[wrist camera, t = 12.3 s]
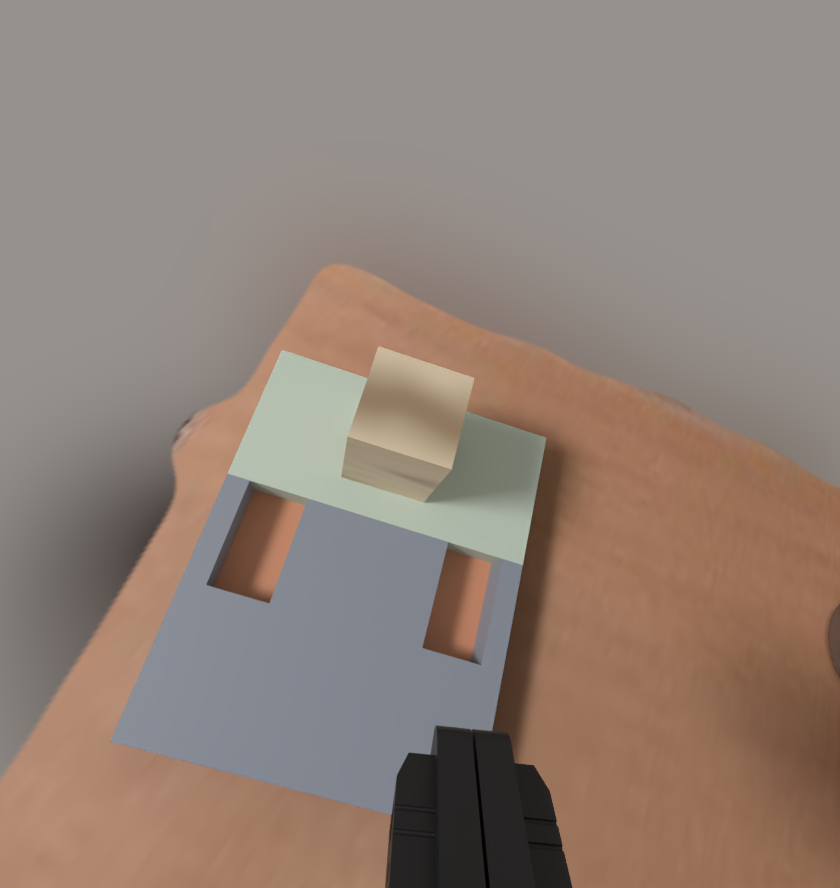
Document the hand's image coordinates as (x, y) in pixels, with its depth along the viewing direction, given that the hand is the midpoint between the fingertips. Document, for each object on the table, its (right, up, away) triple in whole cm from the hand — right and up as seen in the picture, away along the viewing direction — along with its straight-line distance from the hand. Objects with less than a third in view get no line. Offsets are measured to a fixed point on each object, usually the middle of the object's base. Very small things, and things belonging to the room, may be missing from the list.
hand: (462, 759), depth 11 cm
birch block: (-3, +6, +26) cm, 27 cm away
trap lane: (-5, -2, +26) cm, 26 cm away
